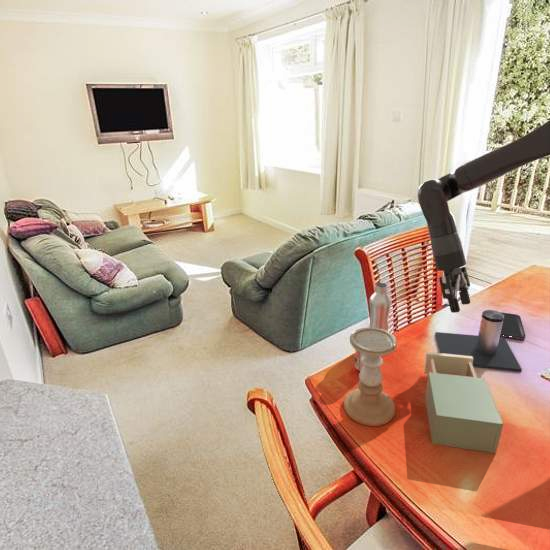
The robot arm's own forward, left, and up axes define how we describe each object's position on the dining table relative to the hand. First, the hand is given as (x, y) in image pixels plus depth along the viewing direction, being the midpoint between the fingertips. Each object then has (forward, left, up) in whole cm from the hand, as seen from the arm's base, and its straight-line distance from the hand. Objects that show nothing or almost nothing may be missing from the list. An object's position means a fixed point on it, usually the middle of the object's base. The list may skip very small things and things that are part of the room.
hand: (461, 307), depth 103 cm
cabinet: (+3, +27, -16) cm, 32 cm away
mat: (-7, -4, -16) cm, 18 cm away
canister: (-10, -4, -16) cm, 19 cm away
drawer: (+3, +16, -15) cm, 22 cm away
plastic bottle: (+21, -4, -16) cm, 27 cm away
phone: (-20, -21, -16) cm, 33 cm away
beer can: (+25, +10, -17) cm, 32 cm away
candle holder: (+23, +26, -16) cm, 39 cm away
